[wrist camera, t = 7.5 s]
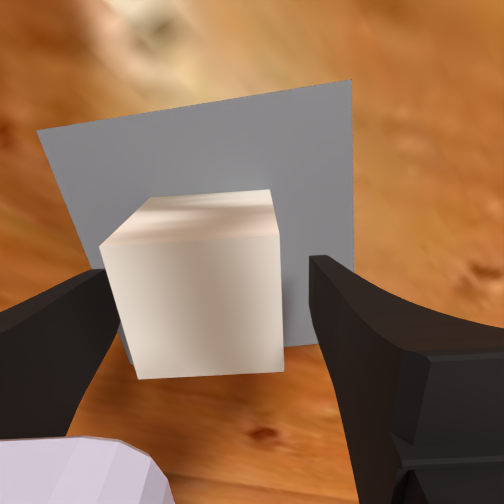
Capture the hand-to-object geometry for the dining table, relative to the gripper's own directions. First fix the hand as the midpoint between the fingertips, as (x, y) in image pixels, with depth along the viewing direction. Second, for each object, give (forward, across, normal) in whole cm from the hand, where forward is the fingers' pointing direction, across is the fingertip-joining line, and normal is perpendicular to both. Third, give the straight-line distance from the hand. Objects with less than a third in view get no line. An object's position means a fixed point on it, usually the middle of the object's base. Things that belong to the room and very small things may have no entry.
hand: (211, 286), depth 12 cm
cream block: (+3, 0, 0) cm, 3 cm away
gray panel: (+7, 0, 0) cm, 7 cm away
